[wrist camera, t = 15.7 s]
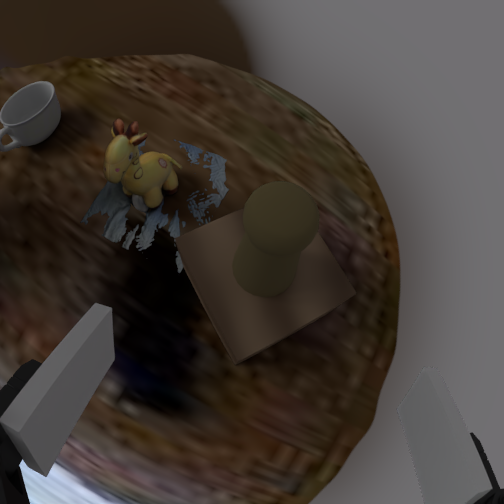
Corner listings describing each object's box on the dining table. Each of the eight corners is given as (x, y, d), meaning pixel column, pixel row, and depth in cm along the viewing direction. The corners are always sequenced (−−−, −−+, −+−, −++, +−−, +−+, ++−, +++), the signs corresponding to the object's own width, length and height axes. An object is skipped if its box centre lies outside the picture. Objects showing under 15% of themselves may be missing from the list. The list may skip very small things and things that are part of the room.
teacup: (49, 104, 48) (35, 75, 40) (78, 120, 46) (64, 87, 39) (-3, 155, 43) (-22, 127, 35) (21, 177, 41) (-1, 147, 34)
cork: (222, 283, 29) (222, 228, 19) (245, 228, 32) (256, 156, 22) (285, 306, 29) (319, 263, 19) (303, 249, 31) (339, 185, 21)
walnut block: (234, 365, 34) (238, 361, 27) (183, 266, 38) (174, 238, 31) (331, 311, 37) (356, 293, 30) (277, 223, 41) (288, 188, 34)
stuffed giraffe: (80, 224, 39) (34, 148, 25) (150, 134, 47) (140, 51, 32) (179, 277, 38) (164, 209, 24) (242, 171, 46) (258, 84, 31)
